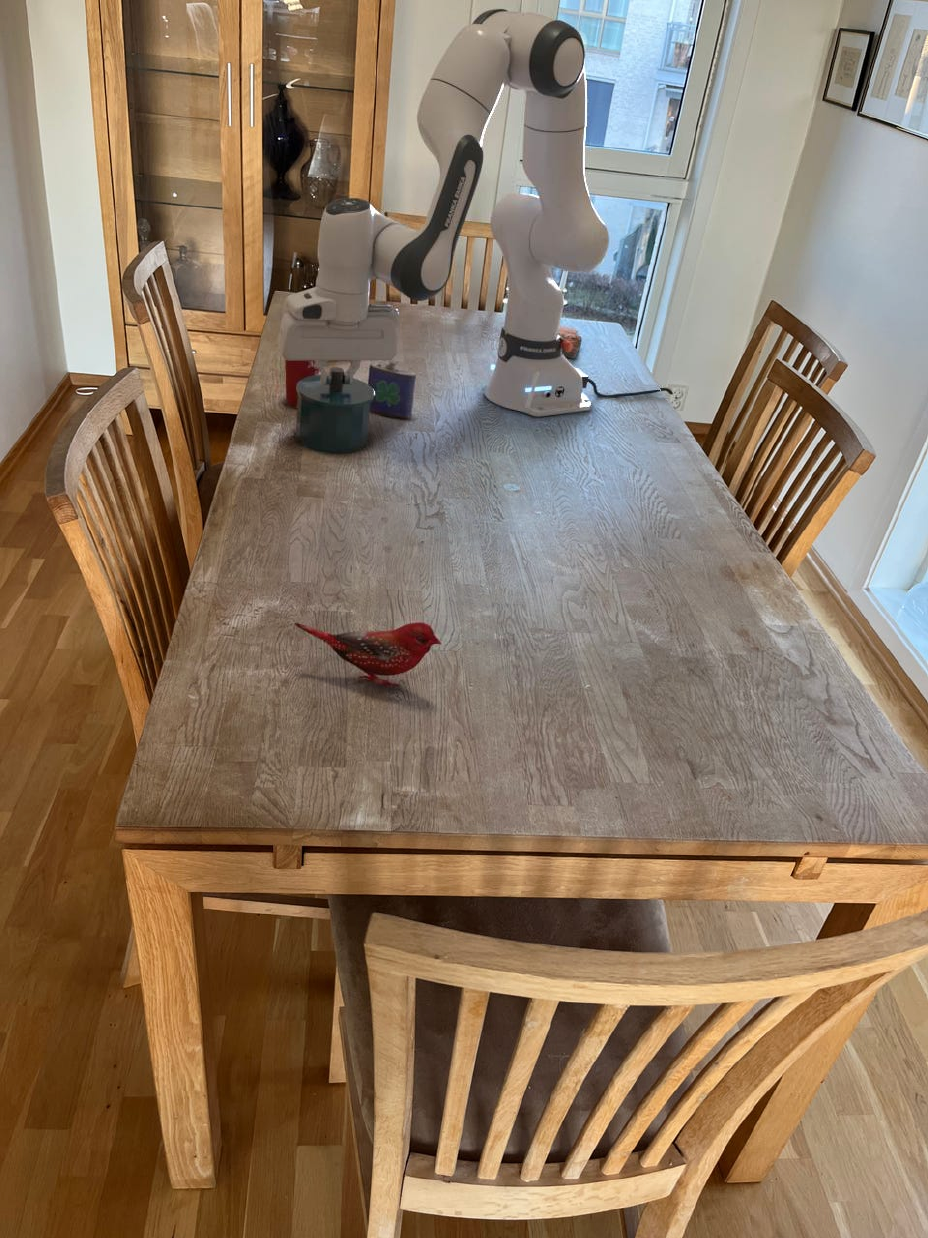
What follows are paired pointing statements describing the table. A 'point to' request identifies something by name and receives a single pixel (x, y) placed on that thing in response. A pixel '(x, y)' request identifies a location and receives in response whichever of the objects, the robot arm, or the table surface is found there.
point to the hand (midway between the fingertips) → (336, 383)
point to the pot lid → (335, 390)
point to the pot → (332, 426)
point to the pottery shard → (570, 340)
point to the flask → (391, 390)
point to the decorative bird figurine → (381, 648)
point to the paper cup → (297, 377)
